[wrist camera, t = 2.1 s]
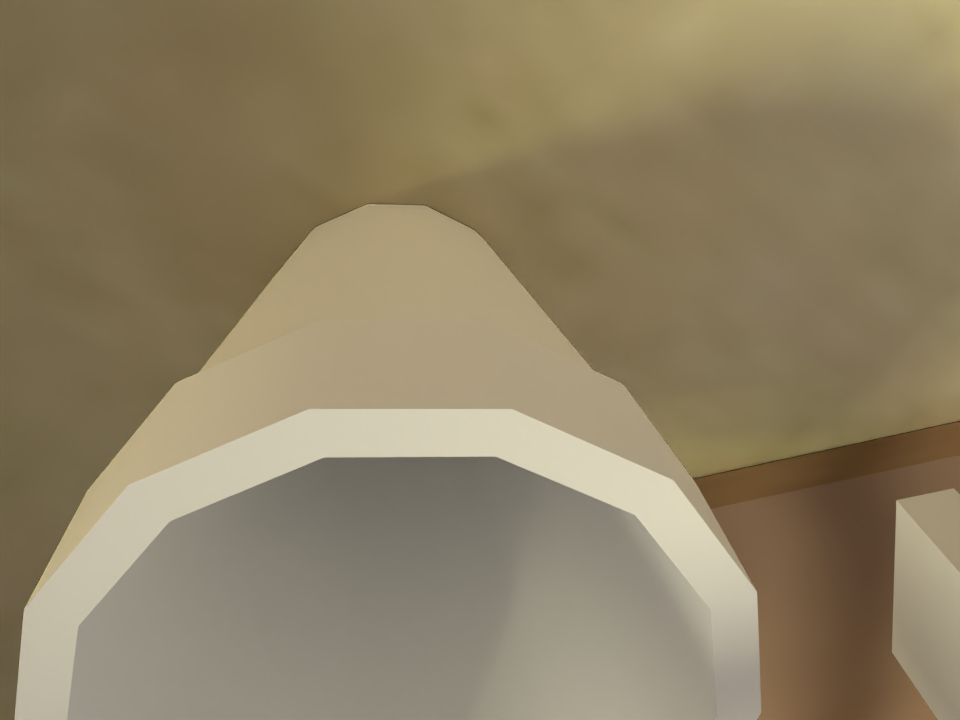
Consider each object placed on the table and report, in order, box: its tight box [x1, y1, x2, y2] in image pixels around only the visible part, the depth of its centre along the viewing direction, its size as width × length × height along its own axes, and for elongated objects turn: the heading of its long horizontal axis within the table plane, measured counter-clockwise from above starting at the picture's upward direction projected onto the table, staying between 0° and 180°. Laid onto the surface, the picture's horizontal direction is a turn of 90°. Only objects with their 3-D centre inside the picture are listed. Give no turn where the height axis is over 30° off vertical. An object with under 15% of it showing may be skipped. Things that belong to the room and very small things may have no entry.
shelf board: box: [693, 422, 960, 720], centre depth 27 cm, size 20×14×4 cm
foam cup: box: [14, 204, 761, 720], centre depth 17 cm, size 10×9×13 cm
